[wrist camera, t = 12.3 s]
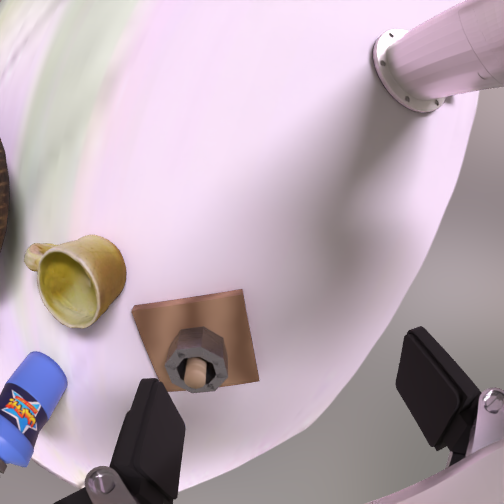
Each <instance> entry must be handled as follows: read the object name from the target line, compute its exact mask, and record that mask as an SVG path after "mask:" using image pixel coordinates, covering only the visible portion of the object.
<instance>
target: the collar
mask: <svg viewBox="0 0 504 504" xmlns="http://www.w3.org/2000/svg"><path fill="white" fill-rule="evenodd" d="M192 357H201V358H203V359H205V360H207V361H208V362H207V366H206V381H205V385H204V386H203V387H201V388H197V389H195V388H191V387H189V386H187V385H186V384H185V382H184V377H185V371H186V365H187V359H186V358H192ZM165 368H166V370H167V373H168V375H169V378H170V380H171V382H172V383H173V384H175V385H177V386H179V387H181V388H183V389H185V390H187V391H189V392H191V393H200V392H209V391H216V389H217V388H218V387H219V386H220V385H221V384H222V383H223V382H224V381H225V380H226V379H227V378H228V355H227V351H226V347H225V343H224V339H223V337H221V336H220V335H218V334H216V333H214V332H213V331H211V330H209V329H207V328H206V327H204V326H202V327H195V328H187V329H181V330H180V331H179V333H178V334H177V336H176V337H175V338H174V340H173V341H172V342H171V344H170V347H169V350H168V354H167V358H166V361H165Z"/></svg>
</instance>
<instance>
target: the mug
mask: <svg viewBox="0 0 504 504" xmlns="http://www.w3.org/2000/svg"><path fill="white" fill-rule="evenodd" d="M24 262H25V264H26V266H27V267H28V268H29V269H30V270H32V271H37V272H38V276H37V284H38V289H39V293H40V296H41V299H42V301H43V303H44V305H45V306H46V308H47V309H48V310H49V312H50V313H51V314H52V315H53V316H54V317H55V318H56V319H57V320H58V321H59V322H60V323H61V324H63V325H65V326H67V327H69V328H86V327H89V326H90V325H92V324H93V323H94V322H96V321H97V320H98V319H99V317H100V316H101V315H102V314H103V313H104V312H105V311H106V310H107V309H108V307H109V305H110V304H111V303H112V302H113V301H114V300H115V299H116V298H117V297H118V295H119V294H120V293H121V291H122V290H123V288H124V285H125V281H126V266H125V263H124V259H123V257H122V255H121V253H120V251H119V249H118V248H117V247H116V246H115V245H114V244H113V243H111V242H110V241H109V240H107V239H105V238H103V237H100V236H97V235H87V236H84V237H82V238H80V239H78V240H76V241H71V242H67V243H63V244H60V245H54V244H48V243H45V244H40V243H34V244H32V245H31V246H30V247H29V248H28V249H27V250H26V254H25V257H24Z"/></svg>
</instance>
